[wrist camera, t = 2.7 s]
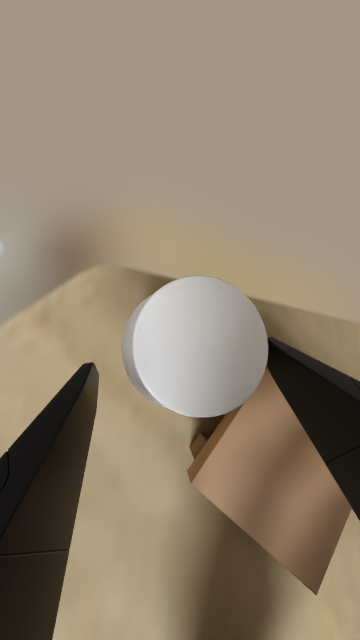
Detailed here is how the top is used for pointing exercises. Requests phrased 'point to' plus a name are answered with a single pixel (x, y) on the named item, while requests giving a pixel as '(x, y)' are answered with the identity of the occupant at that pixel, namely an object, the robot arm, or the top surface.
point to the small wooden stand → (273, 483)
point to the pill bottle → (196, 347)
